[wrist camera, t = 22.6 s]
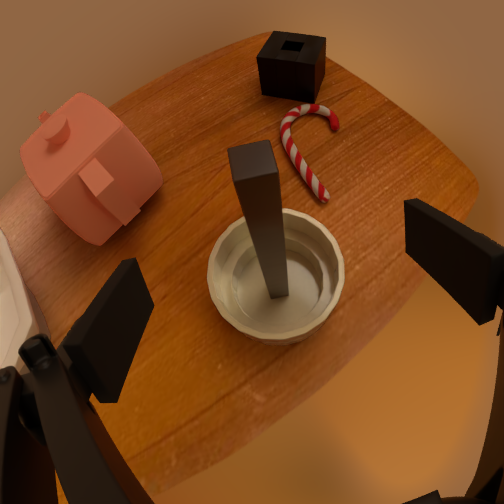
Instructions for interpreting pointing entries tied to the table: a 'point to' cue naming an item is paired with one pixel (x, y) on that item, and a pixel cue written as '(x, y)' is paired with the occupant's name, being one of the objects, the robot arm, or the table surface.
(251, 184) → the stick
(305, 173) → the candy cane
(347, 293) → the table surface
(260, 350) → the table surface
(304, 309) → the mixing bowl
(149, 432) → the table surface
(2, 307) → the bowl
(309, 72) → the stick stand
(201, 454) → the table surface
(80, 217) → the teapot
